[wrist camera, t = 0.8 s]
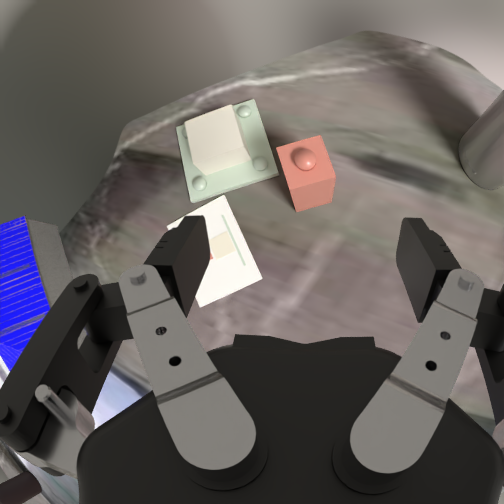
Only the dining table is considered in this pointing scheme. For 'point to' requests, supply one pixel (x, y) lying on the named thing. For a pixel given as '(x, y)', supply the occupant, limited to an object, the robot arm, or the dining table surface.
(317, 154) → the tall brick
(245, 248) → the page
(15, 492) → the bottle
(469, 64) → the dining table surface
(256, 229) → the dining table surface
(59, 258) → the house
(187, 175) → the tower base
